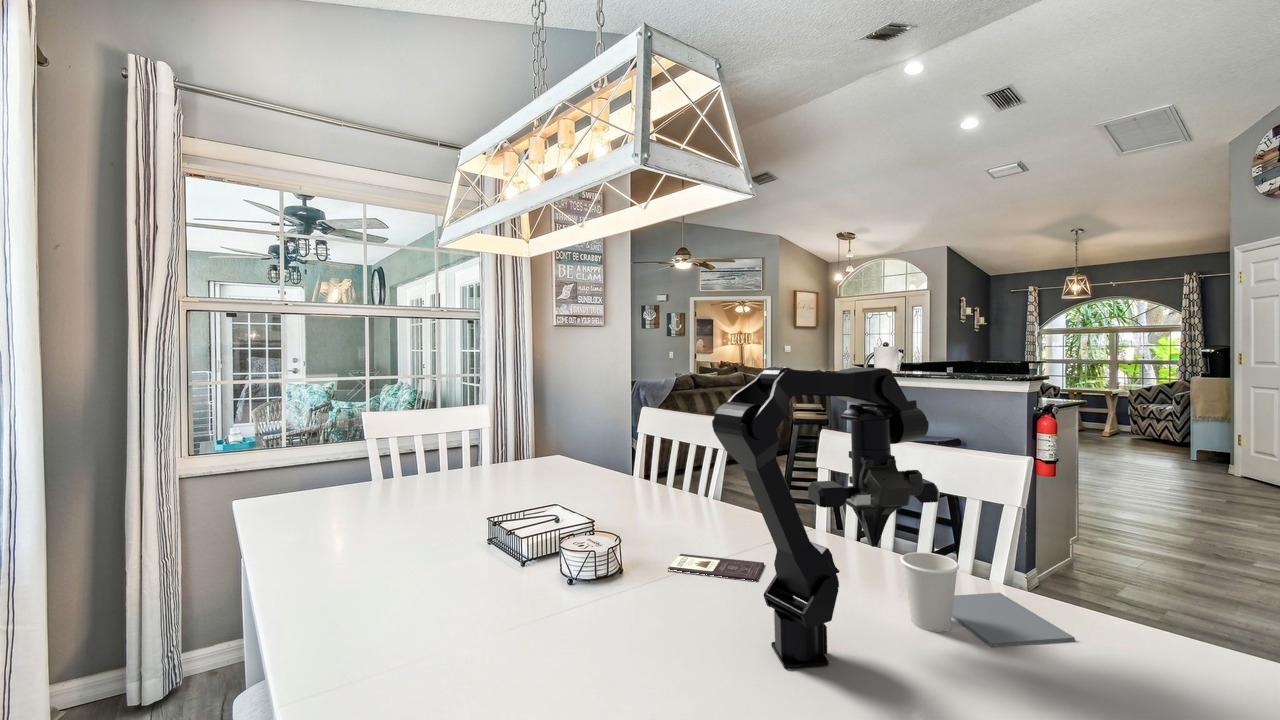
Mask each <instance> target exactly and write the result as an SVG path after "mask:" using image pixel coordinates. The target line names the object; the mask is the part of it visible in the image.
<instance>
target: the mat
mask: <svg viewBox="0 0 1280 720" xmlns="http://www.w3.org/2000/svg"><path fill="white" fill-rule="evenodd" d="M951 619H954V620H955V621H957V622H958V623H959V624H960V625H962V627H963V626H964V627H965V628H966V629H967V630H969V631H970V632H971V633H973V634H974V635H975V636H977V637H978V638H979V639H981V640H982V641H983V642H985V643H986V644H987V645H988V646H990V647H1003V646H1005V647H1006V646H1016V645H1033V644H1046V643H1061V642H1074V641H1075V640H1076V639H1075V636H1073V635H1072V634H1070V633H1068V632H1067V631H1065V630H1063V629H1061V628H1060V627H1058V626H1056V625H1054V623H1051V622H1050V621H1048V620H1047V619H1045V618H1043V617H1041V616H1039V615H1038V614H1037V613H1035V612H1033V611H1032V610H1030V609H1028V608H1026V607H1024V606H1023V605H1021V604H1019V603H1018V602H1016V601H1014V600H1013V599H1011V598H1009V597H1008V596H1006V595H1005V594H1003V593H1001V592H990V593H973V594H972V593H971V594H954V601H953V610H952V618H951Z"/></svg>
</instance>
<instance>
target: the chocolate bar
mask: <svg viewBox="0 0 1280 720" xmlns="http://www.w3.org/2000/svg"><path fill="white" fill-rule="evenodd" d="M763 566H765V562H761V561H753V560H742V559H735V558H734V559H733V558H723V557H717V556H716V557H714V556H705V555H695V554H686V553H680V554H679V555H678V556H677V557H676V559H674V561H673V562H672V563H671V564H670V565H669V567H667V569H670V570H677V571H682V572H690V573H699V574H705V575H706V574H707V575H714V576H722V577H728V578H735V579H734V580H736V579H745V580H753V581H756V580H757V581H758V579H759V577H760V575H761V573H762V571H763V569H762V568H764V567H763ZM761 570H762V571H761ZM760 572H761V573H760ZM759 574H760V575H759ZM758 576H759V577H758ZM728 578H727V579H728ZM757 578H758V579H757ZM745 580H744V581H745ZM753 581H752V582H753Z"/></svg>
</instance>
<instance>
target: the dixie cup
mask: <svg viewBox="0 0 1280 720" xmlns="http://www.w3.org/2000/svg"><path fill="white" fill-rule="evenodd" d="M900 563H902V569H903V576H904V583H905V588H906V595H907V602H908V608H909V615H910V621H911V623H912V624H913V625H914V626H916V627H917V628H919V629H922V630H924V631H929V632H938V633H939V632H941V633H942V632H947V631H949V630H950V629H951V625H952V619H953V618H952V610H953V601H954V595H955V590H956V583H957V574H958V570H959V569H960V564H959V563H958V562H957V561H956V560H954V559H953V558H950V557H948V556H946V555H942V554H938V553H933V552H923V551H922V552H921V551H920V552H919V551H918V552H908V553H906V554H903V555H902V556H900Z"/></svg>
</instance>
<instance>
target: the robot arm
mask: <svg viewBox="0 0 1280 720" xmlns="http://www.w3.org/2000/svg"><path fill="white" fill-rule="evenodd" d="M893 374H894V373H893V370H892V369H890V368H887V367H850V368H849V367H848V368H843V369H840V370H837V371H819V370H805V369H803V370H802V369H793V368H790V367H771V366H770V367H767V368H765V369H763V370H762V371H760V373H758V375H757V376H756V377H755V378H754V380H752V381H750V382H749V383H748V384H746V385H745V386H743V387H742V388H740V389H739V390H737V391H736V392H735V393H734V394H732V396H731V397H730V398H729V399H728V400H727V401H726V402H724V403H722V404H721V405H720V406H719V407H718V408H717V409H716V410H715V412H714V416H713V419H712V421H711V425H712V429H713V433H714V435H715V437H716V438H717V439H718V441H719V442H720V443H721V446H722V448H724V450H725V451H726V452H727V453H728V454H729V456H731V457H732V458H733V459H734V460H735V461H736V462H737V463H738V464H739V465H740V466H741V468H742V470H743V472H744V474H745V477H746V479H747V481H748V484H749V486H750V489H751V491H752V494H753V496H754V499H755V502H756V503H757V506H758V508H759V511H760V513H761V515H762V517H763V520H764V522H765V525H766V527H767V530H768V531H769V534H770V536H771V539H772V541H773V543H774V546H775V549H776V553H775V558H774V569H775V575H774V577H773V578H772V580H771V582H770V583H769V585H768V586H767V588H766V589H765V591H764V593H763V599H764V602H765V603H766V606H767V607H769V608H772V609H773V612H774V613H773V615H774V616H773V617H774V618H773V619H774V621H773V622H774V623H773V624H774V641H772V642H770V643H771V648H772V650H773V651H774V653H775V655H776V656H777V657H778V659H779V661H780V663H781V665H782V667H783V668H786V669H795V668H809V667H826V666H828V665H830V660H829V659H828V658H827V654H828V627H827V625H826V623H829V622H831V621H832V619H833V615H834V612H835V608H836V607H835V606H836V602H837V599H838V598H837V597H838V594H839V587H840V582H839V577H838V574H839V573H840V569H838V568H837V566H836V565H835V561H834V558H833V554H832V552H831V551H830V549H829V548H828V547H826V546H823V545H820V544H818V543H814V542H812V541H811V540H810V538H809V536H808V533H807V530H806V528H805V526H804V523H803V521H802V518H801V516H800V513H799V511H798V509H797V505H796V503H795V501H794V498H793V496H792V493H791V490H790V489H789V486H788V484H787V481H786V478H785V476H784V474H783V472H782V468H781V465H780V464H779V461H778V459H777V453H778V447H779V443H780V437H779V432H778V429H777V428H778V427H779V426H780V425H781V424H782V422H783V421H784V420H785V418H786V417H787V416H788V410H789V407H790V402H791V399H792V398H793V397H794V396H819V397H822V396H823V397H833V398H834V397H835V398H837V399H838V400H840V401H841V400H842V401H845V402H848V403H852V404H850V405H849V407H848V408H847V409H846V410H845V411H843V413H842V414H841V415H840V419H841V420H843V421H850V433H851V434H850V435H851V437H850V439H851V440H850V441H851V442H850V443H851V451H850V450H849V451H848V458H849V459H851V470H852V471H851V472H852V475H851V476H849V477H848V478H849V479H848V481H849V483H850V484H851V485H850V486H848V485H846V486H845V485H844V486H842V485H841V484H839V483H837V482H835V481H833V480H823V481H822V480H821V481H820V480H819V481H811V483H810V484H809V486H808V488H807V489H808V492H807V493H808V499H809V500H810V501H811V502H813V503H814V504H815V505H816V506H819V508H842V507H843V505H845V504H846V505H847V506H849V507H850V508H852V510H853V512H854V513H855V515H856V517H857V520H858V521H859V523H860V526H861V529H862V530H863V533H864V535H865V537H866V540H867V541H868V544H869V546H871V547H872V548H877V547H878V546H879V543H880V540H881V538H882V535H883V532H884V530H885V527H886V524H887V522H888V520H889V518H890V516H891V515H892V514H893V513H894V512H895V511H897V510H901V509H903V507H906V506H909V504H910V500H911V497H912V496H913V497H914V498H915V499H916V501H918V502H919V503H921V504H923V503H925V504H927V503H938V502H939V501H940V494H939V493H940V491H939V488H938V485H936V484H935V483H934V482H932V481H930V480H929V479H928V480H927V479H925V478H923V474H922V473H921V471H920V470H919V469H907V470H898V468H897V460H896V456H894V455H892V454H891V453H892V451H891V450H892V449H891V446H892V445H896V444H903V443H908V442H916V441H920V440H922V439H924V438H925V436H926V435H927V434H928V432H929V420H928V419H927V416H926V415H925V413H924V412H923V411H922V409H920V408H918V406H917V405H918V403H917V400H916V399H907V397H906V395H905V393H904V391H903V390H902V388H901V386H900V384H899V383H898V381H897V379H896V378H895V376H894V375H893ZM763 403H764V404H763ZM762 404H763V405H762Z"/></svg>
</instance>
